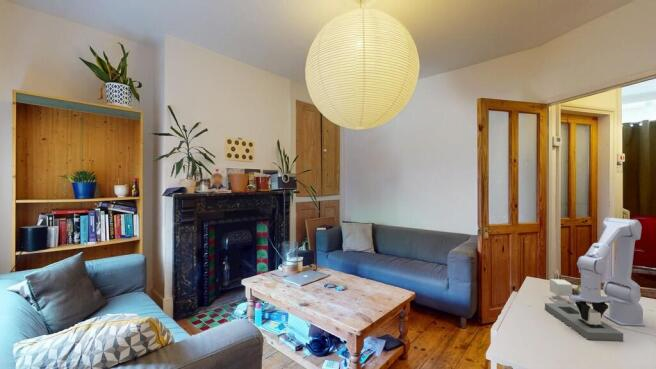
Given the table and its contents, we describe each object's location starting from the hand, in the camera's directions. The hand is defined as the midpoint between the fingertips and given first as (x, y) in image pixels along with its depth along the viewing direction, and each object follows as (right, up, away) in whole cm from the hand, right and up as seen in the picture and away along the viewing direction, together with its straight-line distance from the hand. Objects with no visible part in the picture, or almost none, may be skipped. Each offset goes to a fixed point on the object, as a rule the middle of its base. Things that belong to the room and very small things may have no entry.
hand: (590, 319), depth 108 cm
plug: (0, -2, 0) cm, 2 cm away
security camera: (+10, -4, +26) cm, 28 cm away
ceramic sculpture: (+25, -4, +28) cm, 38 cm away
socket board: (+1, -4, +6) cm, 7 cm away
